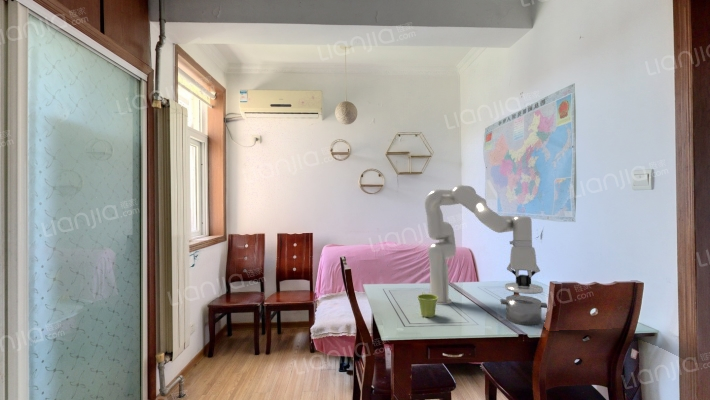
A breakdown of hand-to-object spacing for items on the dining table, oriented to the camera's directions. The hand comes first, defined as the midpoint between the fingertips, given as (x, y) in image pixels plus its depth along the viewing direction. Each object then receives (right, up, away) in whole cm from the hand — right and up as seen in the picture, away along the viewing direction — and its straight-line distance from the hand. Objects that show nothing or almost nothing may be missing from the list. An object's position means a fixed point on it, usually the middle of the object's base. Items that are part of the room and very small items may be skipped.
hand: (523, 285), depth 146 cm
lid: (0, -2, 0) cm, 2 cm away
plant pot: (-41, -16, +7) cm, 45 cm away
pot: (0, -16, 0) cm, 16 cm away
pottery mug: (+8, -15, +17) cm, 25 cm away
